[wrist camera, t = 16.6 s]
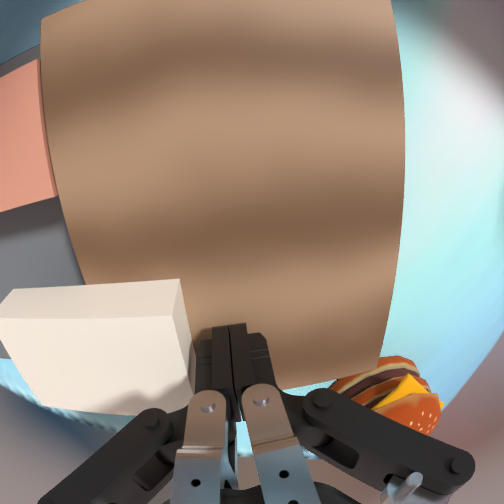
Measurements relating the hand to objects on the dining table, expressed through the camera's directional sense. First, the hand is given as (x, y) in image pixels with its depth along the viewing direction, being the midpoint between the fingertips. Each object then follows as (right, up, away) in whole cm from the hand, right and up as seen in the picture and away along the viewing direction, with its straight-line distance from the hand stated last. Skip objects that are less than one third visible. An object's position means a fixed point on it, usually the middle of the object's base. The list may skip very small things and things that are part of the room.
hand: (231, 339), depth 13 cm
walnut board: (0, +6, +1) cm, 6 cm away
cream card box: (-6, 0, 0) cm, 6 cm away
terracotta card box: (-12, +9, -2) cm, 15 cm away
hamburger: (+11, -8, +9) cm, 16 cm away
